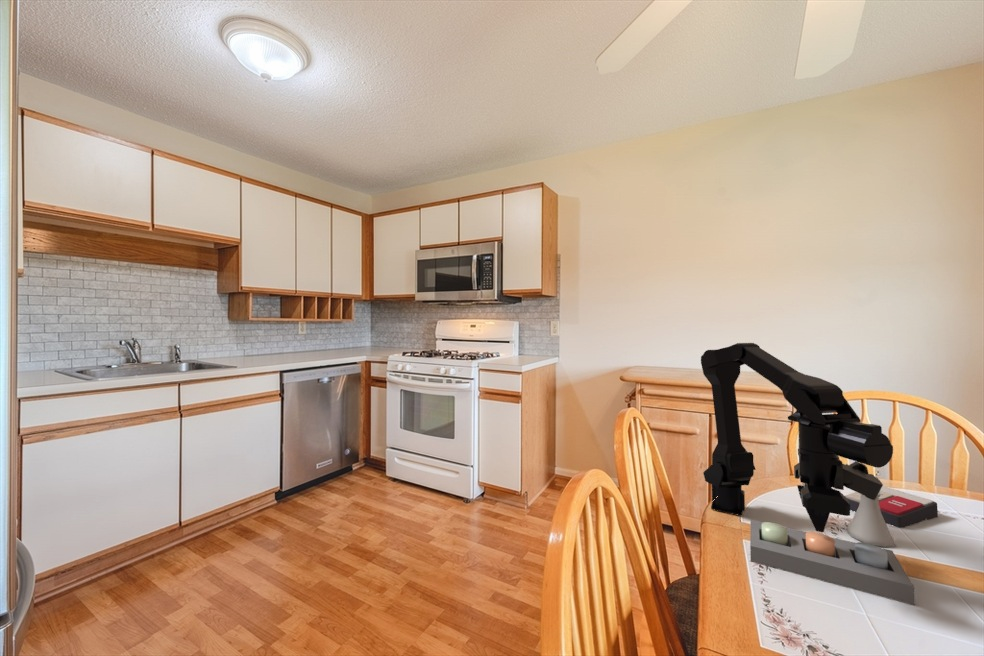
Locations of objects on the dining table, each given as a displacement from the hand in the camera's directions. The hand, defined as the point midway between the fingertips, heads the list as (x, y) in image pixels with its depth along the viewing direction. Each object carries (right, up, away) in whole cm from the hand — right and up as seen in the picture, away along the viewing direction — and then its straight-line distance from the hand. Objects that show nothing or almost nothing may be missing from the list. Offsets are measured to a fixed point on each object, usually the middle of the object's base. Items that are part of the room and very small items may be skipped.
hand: (819, 531), depth 73 cm
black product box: (+34, -6, +20) cm, 40 cm away
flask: (+18, -6, +8) cm, 21 cm away
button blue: (+6, -4, -4) cm, 8 cm away
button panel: (0, -6, 0) cm, 6 cm away
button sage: (-6, -5, +4) cm, 8 cm away
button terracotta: (0, -4, 0) cm, 4 cm away
